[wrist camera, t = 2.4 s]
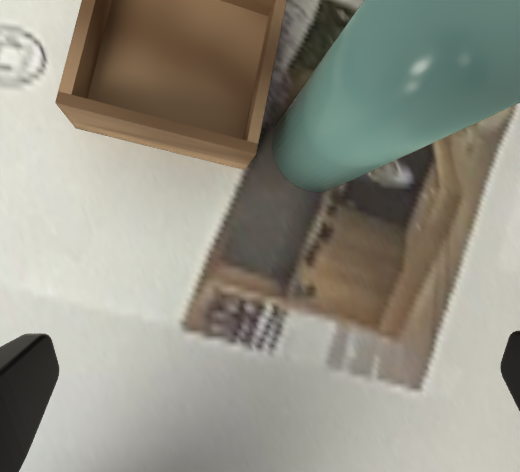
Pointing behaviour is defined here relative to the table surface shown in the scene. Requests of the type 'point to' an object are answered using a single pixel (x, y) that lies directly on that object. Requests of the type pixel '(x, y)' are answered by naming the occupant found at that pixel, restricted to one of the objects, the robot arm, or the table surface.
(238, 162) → the walnut tray
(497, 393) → the table surface
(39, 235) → the table surface
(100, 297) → the table surface
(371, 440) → the table surface
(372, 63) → the teal round cylinder
